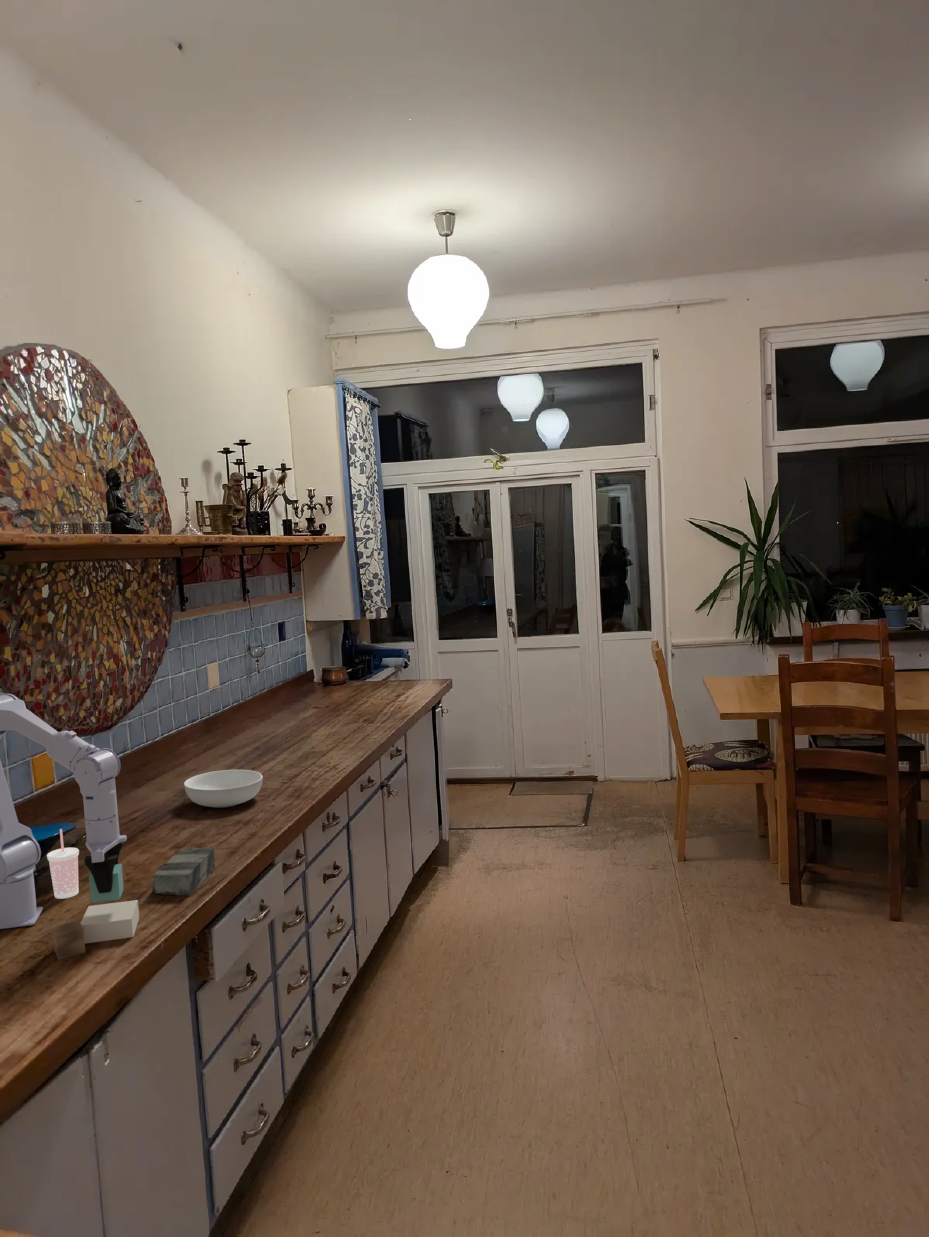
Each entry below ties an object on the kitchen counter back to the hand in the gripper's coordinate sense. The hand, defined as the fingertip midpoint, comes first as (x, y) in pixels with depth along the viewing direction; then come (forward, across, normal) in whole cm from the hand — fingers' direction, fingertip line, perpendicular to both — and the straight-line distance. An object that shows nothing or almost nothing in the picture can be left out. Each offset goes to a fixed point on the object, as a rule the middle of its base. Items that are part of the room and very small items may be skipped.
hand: (107, 886), depth 170 cm
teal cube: (+2, 0, 0) cm, 2 cm away
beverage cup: (+9, +22, +12) cm, 27 cm away
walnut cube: (+9, -7, +6) cm, 13 cm away
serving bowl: (+9, +78, -18) cm, 80 cm away
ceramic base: (+8, 0, 0) cm, 8 cm away
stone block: (+9, +21, -12) cm, 25 cm away
